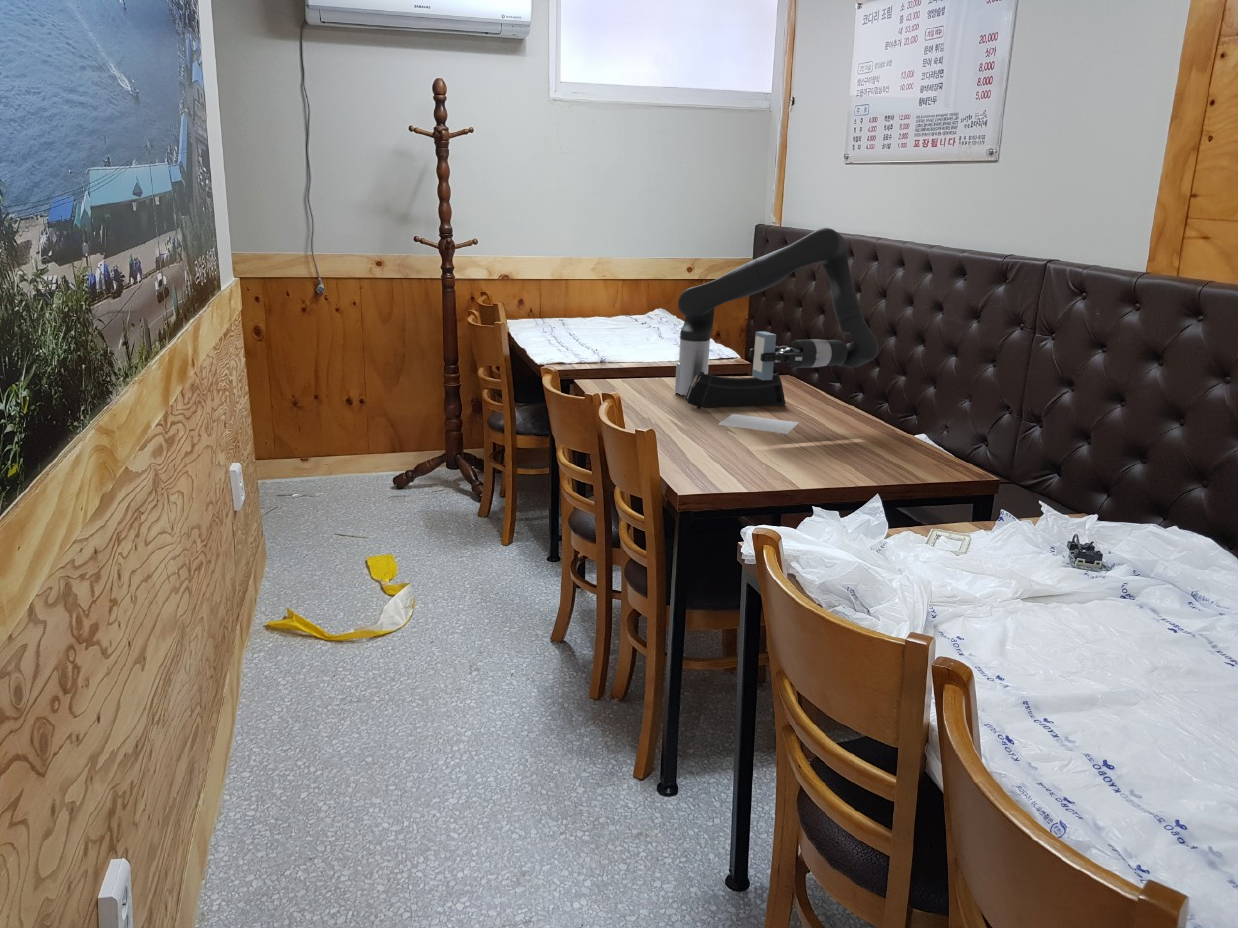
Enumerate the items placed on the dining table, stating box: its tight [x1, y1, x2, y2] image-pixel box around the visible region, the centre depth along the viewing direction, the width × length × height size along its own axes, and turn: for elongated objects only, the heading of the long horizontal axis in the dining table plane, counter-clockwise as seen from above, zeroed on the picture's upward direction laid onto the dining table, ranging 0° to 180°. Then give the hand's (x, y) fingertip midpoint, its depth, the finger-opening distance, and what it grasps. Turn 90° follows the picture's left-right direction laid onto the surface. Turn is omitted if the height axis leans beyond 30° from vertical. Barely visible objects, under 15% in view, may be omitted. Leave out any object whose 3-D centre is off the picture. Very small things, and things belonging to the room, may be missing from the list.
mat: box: [717, 413, 800, 435], centre depth 241 cm, size 19×14×1 cm
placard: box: [751, 331, 777, 380], centre depth 235 cm, size 3×6×12 cm, turn 21°
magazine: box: [685, 371, 786, 410], centre depth 260 cm, size 17×3×30 cm
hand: (755, 355), depth 234 cm, fingers closed on placard, 5 cm apart
